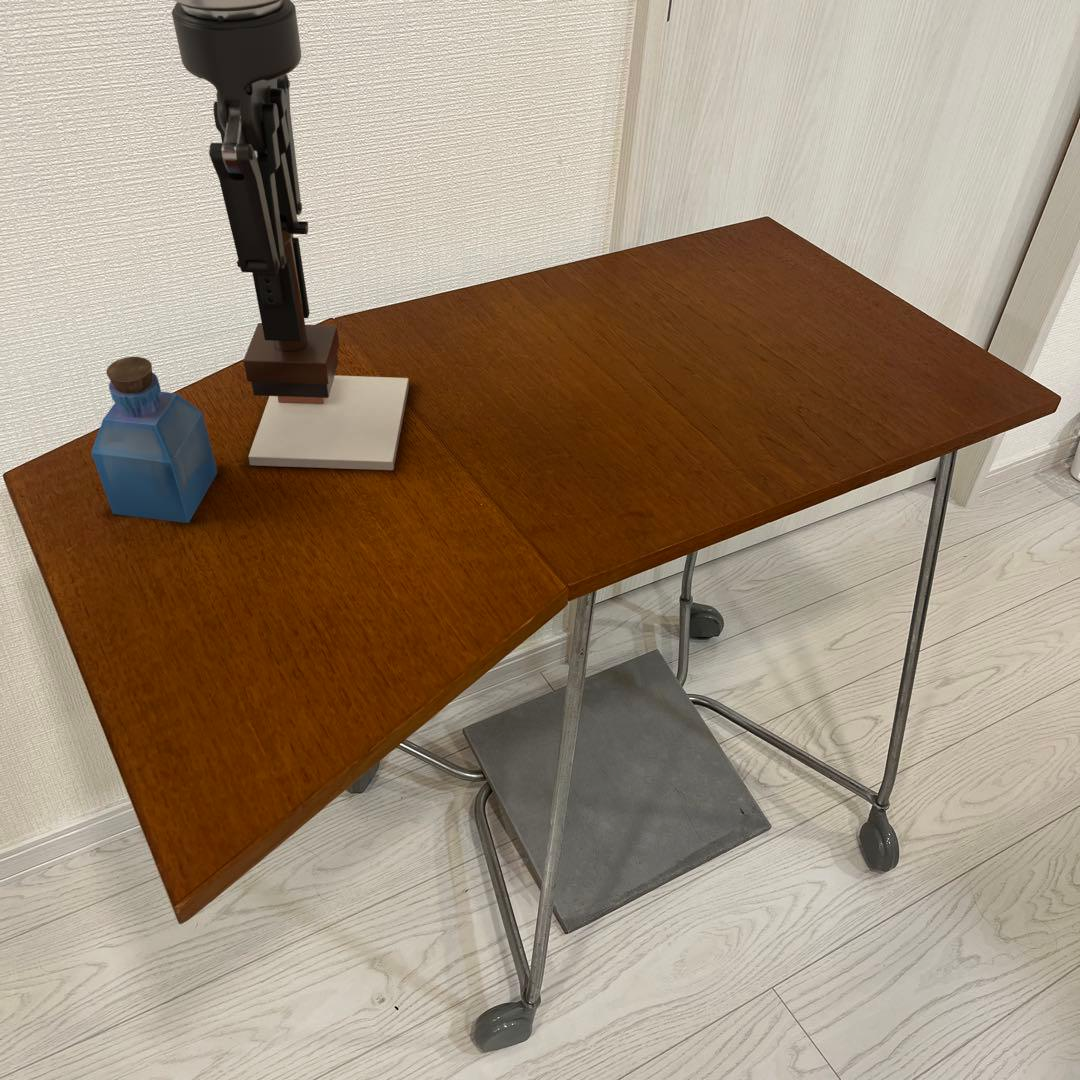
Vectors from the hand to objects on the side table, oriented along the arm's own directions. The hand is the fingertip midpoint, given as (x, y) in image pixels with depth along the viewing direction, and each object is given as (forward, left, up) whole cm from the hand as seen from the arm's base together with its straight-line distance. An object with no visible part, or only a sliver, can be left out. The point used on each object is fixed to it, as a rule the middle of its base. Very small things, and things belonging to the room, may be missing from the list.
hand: (287, 326), depth 79 cm
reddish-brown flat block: (-1, +6, -10) cm, 12 cm away
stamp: (0, 0, -5) cm, 5 cm away
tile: (+2, +2, -11) cm, 12 cm away
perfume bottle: (-10, -7, -12) cm, 17 cm away
